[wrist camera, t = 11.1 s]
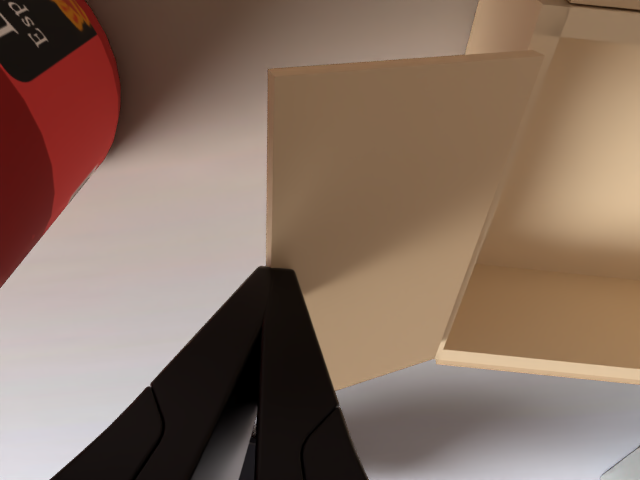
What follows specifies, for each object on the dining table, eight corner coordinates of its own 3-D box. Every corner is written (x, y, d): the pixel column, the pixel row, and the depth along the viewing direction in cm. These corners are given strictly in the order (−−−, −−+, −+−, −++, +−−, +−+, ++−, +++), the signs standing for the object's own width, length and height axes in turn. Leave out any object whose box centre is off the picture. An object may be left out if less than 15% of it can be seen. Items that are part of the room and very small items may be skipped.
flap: (268, 413, 12) (264, 402, 12) (434, 358, 14) (429, 350, 14) (274, 77, 7) (268, 68, 7) (544, 56, 9) (533, 50, 9)
